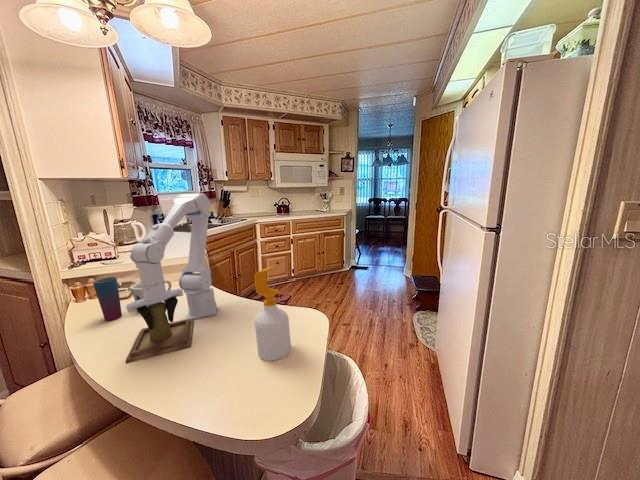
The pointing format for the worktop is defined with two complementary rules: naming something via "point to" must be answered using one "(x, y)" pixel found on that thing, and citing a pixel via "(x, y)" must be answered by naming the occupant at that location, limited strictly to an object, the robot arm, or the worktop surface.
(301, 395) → the worktop surface
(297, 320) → the worktop surface
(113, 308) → the cup
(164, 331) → the olive-green waisted figurine
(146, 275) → the robot arm
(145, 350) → the spice tray
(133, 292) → the mug
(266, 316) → the soap bottle
